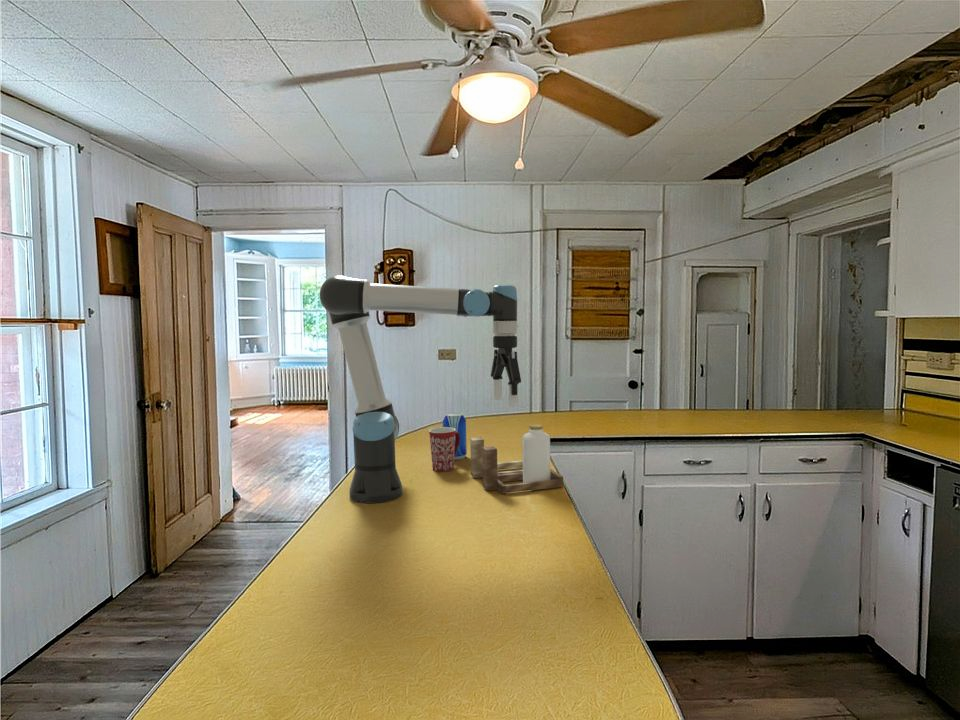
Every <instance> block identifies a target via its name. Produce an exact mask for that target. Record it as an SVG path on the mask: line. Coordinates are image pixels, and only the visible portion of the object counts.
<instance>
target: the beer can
mask: <svg viewBox="0 0 960 720" xmlns="http://www.w3.org/2000/svg"><path fill="white" fill-rule="evenodd" d="M442 427H449V428H454V429H456V432H458V433H459V435H460V442H459V447H458V450H457V452H456V455H455V457H454V461H459V460H463V459H465V457H466V456H467V453H468V451H467V448H468V447H467V419H466V418H465V417H464V413H462V412H448V413H445V414H444V417H443V420H442Z"/></svg>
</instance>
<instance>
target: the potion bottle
mask: <svg viewBox="0 0 960 720" xmlns="http://www.w3.org/2000/svg"><path fill="white" fill-rule="evenodd" d="M550 437H551V436H550V435H549V434H548V433H547V432H545V431H544V428H543V424H529V428H528V432H526V433H524V434H523V435H522V439H521V443H522V444H521V445H522V461H523V467H522V470H523V480H522V483H528V482H537V481H547V480H550V469H551V438H550Z"/></svg>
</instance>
